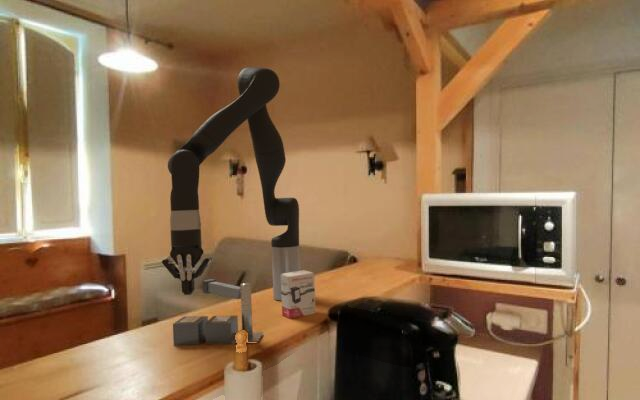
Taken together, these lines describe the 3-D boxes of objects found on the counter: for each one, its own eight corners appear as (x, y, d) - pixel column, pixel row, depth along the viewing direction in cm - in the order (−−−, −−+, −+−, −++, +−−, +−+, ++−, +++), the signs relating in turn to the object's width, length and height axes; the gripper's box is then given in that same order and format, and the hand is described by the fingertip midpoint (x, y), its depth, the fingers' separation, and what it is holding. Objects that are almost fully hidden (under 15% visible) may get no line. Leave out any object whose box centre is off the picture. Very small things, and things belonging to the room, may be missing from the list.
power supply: (214, 336, 99) (213, 315, 99) (238, 335, 99) (237, 314, 99) (205, 345, 93) (205, 322, 93) (231, 344, 93) (230, 322, 93)
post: (238, 335, 99) (236, 281, 99) (262, 334, 98) (260, 281, 98) (231, 344, 93) (229, 287, 93) (257, 343, 92) (255, 286, 92)
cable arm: (246, 299, 98) (245, 285, 98) (236, 301, 96) (235, 287, 96) (212, 290, 109) (212, 278, 109) (202, 292, 107) (202, 280, 107)
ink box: (290, 319, 111) (288, 275, 111) (281, 315, 115) (279, 273, 115) (316, 313, 115) (314, 271, 115) (307, 309, 119) (305, 269, 120)
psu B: (184, 336, 100) (183, 315, 100) (208, 336, 99) (207, 315, 99) (173, 345, 94) (172, 323, 94) (198, 345, 93) (197, 322, 93)
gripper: (154, 229, 102) (157, 298, 102) (205, 227, 102) (208, 297, 102) (167, 227, 110) (169, 291, 110) (215, 225, 109) (217, 290, 109)
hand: (188, 294), depth 106 cm, fingers closed
